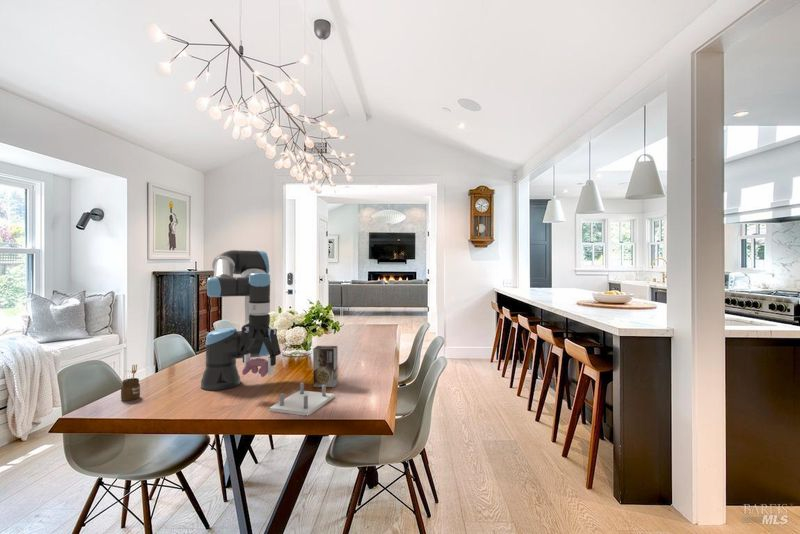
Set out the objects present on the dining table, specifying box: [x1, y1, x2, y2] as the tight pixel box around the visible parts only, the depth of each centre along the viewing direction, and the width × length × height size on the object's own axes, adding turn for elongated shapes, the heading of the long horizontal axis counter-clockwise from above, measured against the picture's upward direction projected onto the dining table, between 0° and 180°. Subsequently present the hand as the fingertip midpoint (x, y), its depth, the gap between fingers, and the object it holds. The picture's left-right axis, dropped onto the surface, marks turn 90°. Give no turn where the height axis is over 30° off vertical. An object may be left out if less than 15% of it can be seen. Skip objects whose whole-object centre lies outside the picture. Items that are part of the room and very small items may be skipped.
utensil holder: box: [120, 364, 141, 402], centre depth 147 cm, size 6×6×12 cm
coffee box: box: [312, 345, 339, 388], centre depth 165 cm, size 9×6×16 cm
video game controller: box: [241, 357, 268, 378], centre depth 147 cm, size 10×5×7 cm, turn 71°
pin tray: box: [268, 382, 335, 417], centre depth 142 cm, size 15×20×5 cm
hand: (258, 372), depth 148 cm, fingers closed on video game controller, 10 cm apart
